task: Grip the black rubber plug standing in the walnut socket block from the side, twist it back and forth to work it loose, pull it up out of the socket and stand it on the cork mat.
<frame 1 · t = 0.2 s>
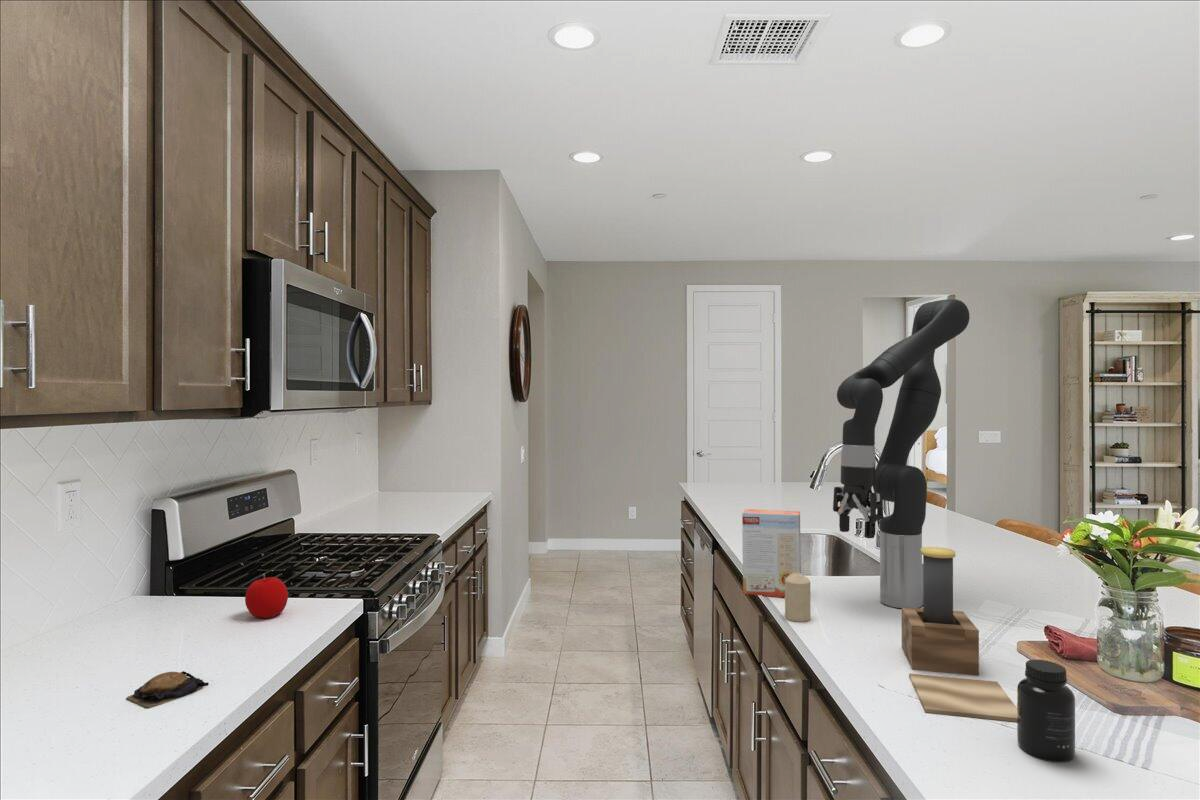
hand: (856, 534, 157), 18 cm above the countertop, tool pointing down, fingers open, 8 cm apart
cracker box: (772, 594, 171), on the countertop
cork mat: (962, 698, 112), on the countertop
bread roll: (169, 696, 116), on the countertop
socket block: (938, 660, 128), on the countertop
candle: (797, 619, 152), on the countertop
fruit: (267, 616, 156), on the countertop
supplement bottle: (1045, 751, 95), on the countertop
plug: (938, 628, 128), point 6 cm above the countertop, touching socket block
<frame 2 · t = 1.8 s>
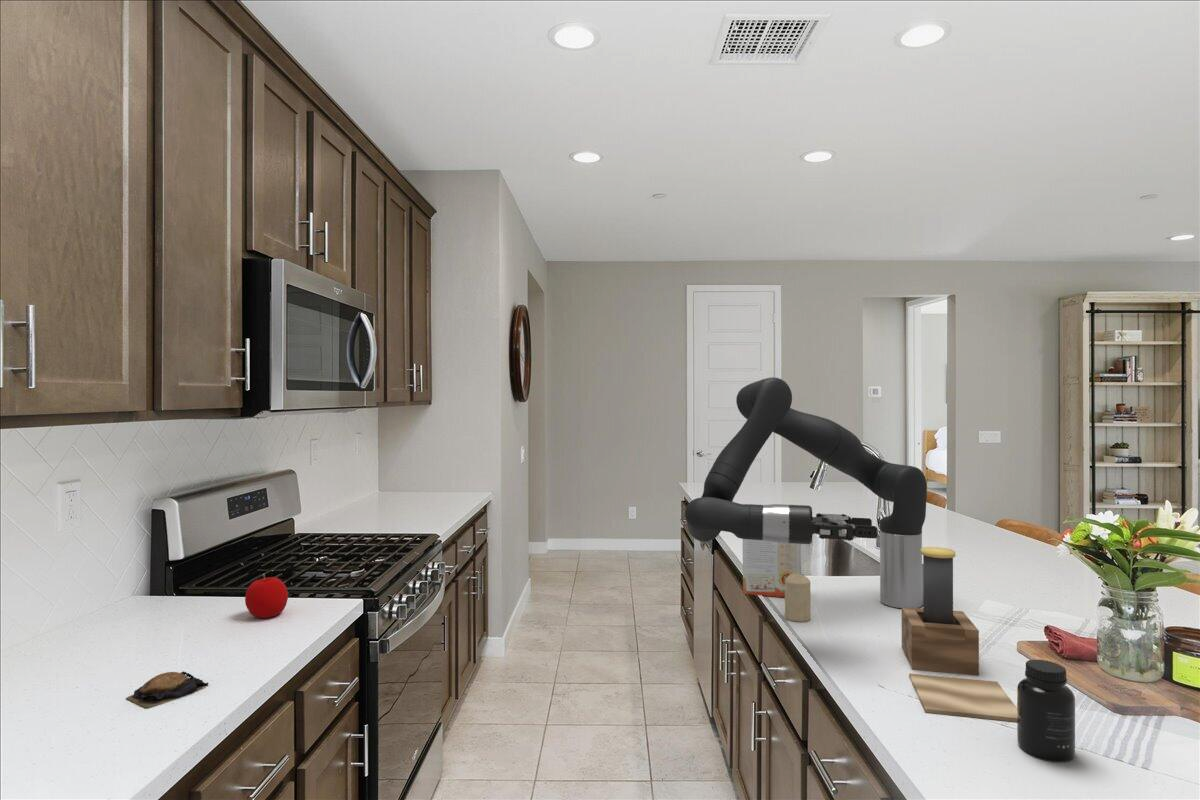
hand: (874, 528, 130), 24 cm above the countertop, tool horizontal, fingers open, 8 cm apart
nothing on the countertop moved.
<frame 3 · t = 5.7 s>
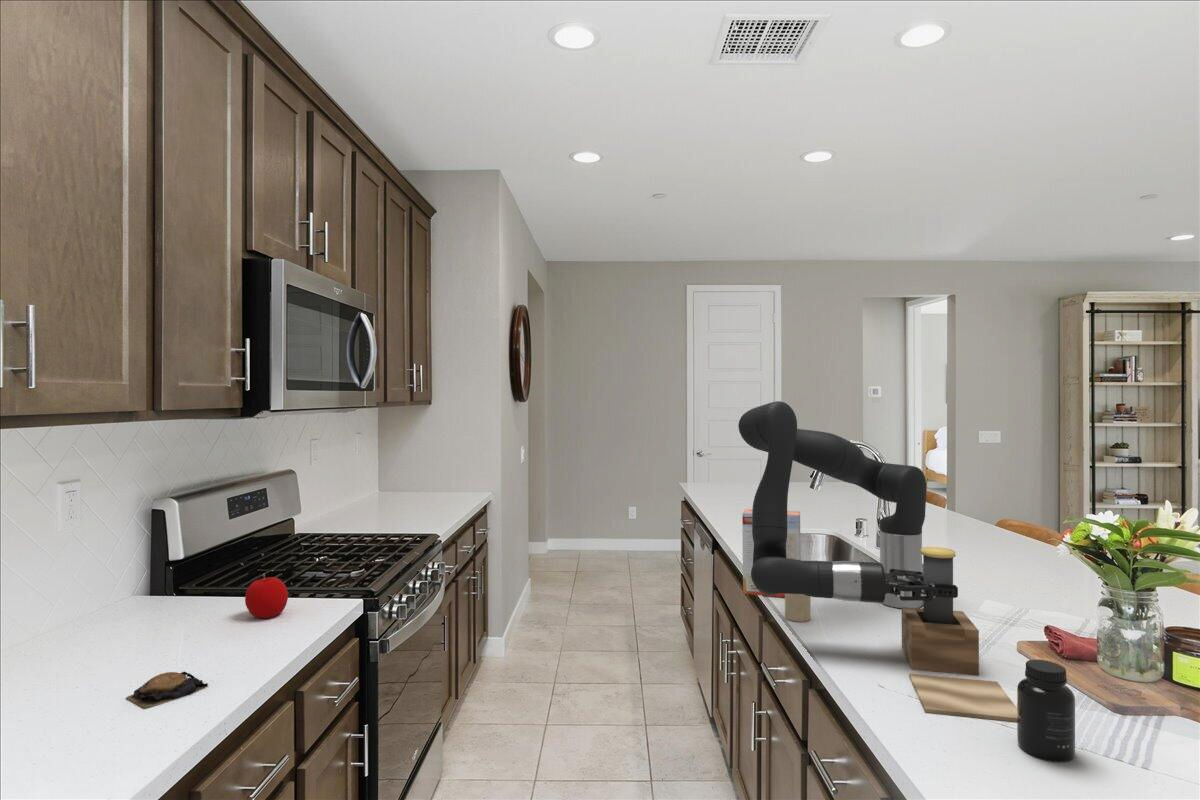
hand: (953, 587, 127), 14 cm above the countertop, tool horizontal, fingers closed on plug, 5 cm apart
plug: (938, 628, 128), point 6 cm above the countertop, touching gripper, socket block
everything else where it was.
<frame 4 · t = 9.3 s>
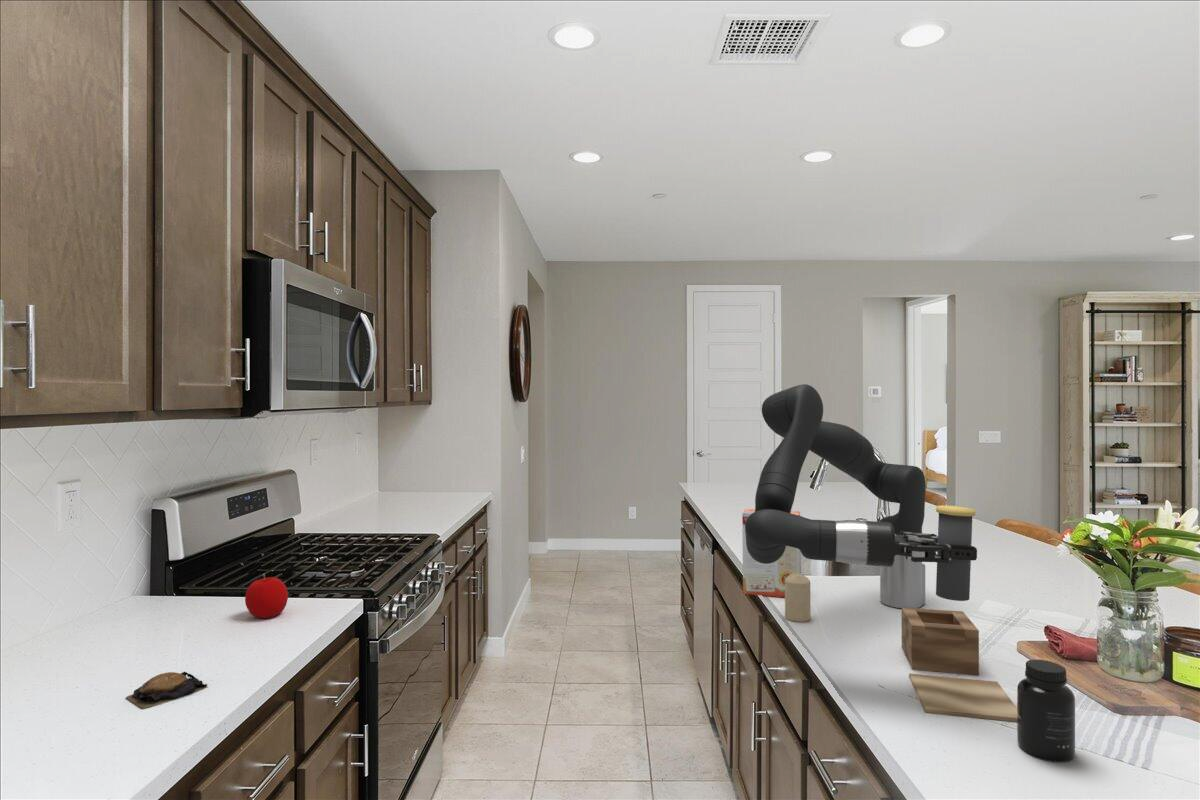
hand: (971, 549, 113), 24 cm above the countertop, tool horizontal, fingers closed on plug, 5 cm apart
plug: (952, 596, 114), point 16 cm above the countertop, touching gripper
everything else where it was.
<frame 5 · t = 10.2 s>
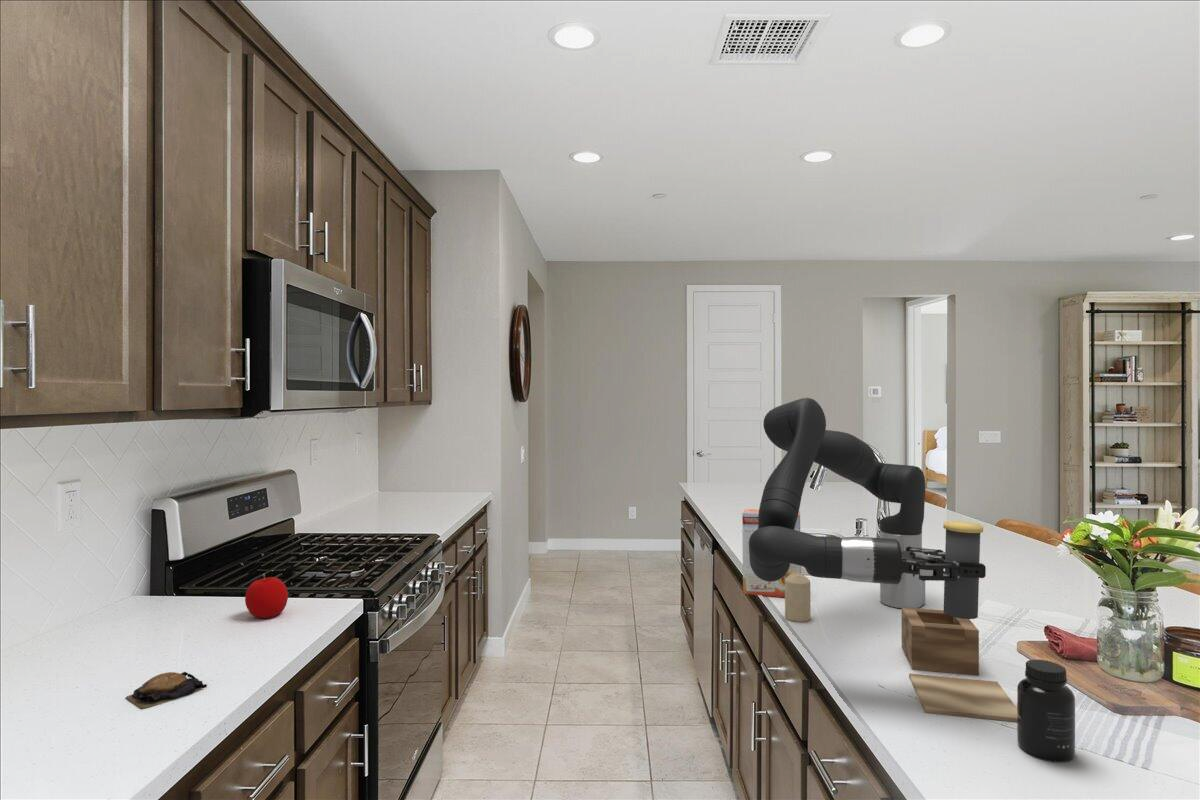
hand: (979, 566, 111), 22 cm above the countertop, tool horizontal, fingers closed on plug, 5 cm apart
plug: (960, 614, 112), point 14 cm above the countertop, touching gripper
everything else where it was.
when the fingers open (10 cm above the countertop, at t = 12.7 s): plug drops 1 cm, resting on cork mat.
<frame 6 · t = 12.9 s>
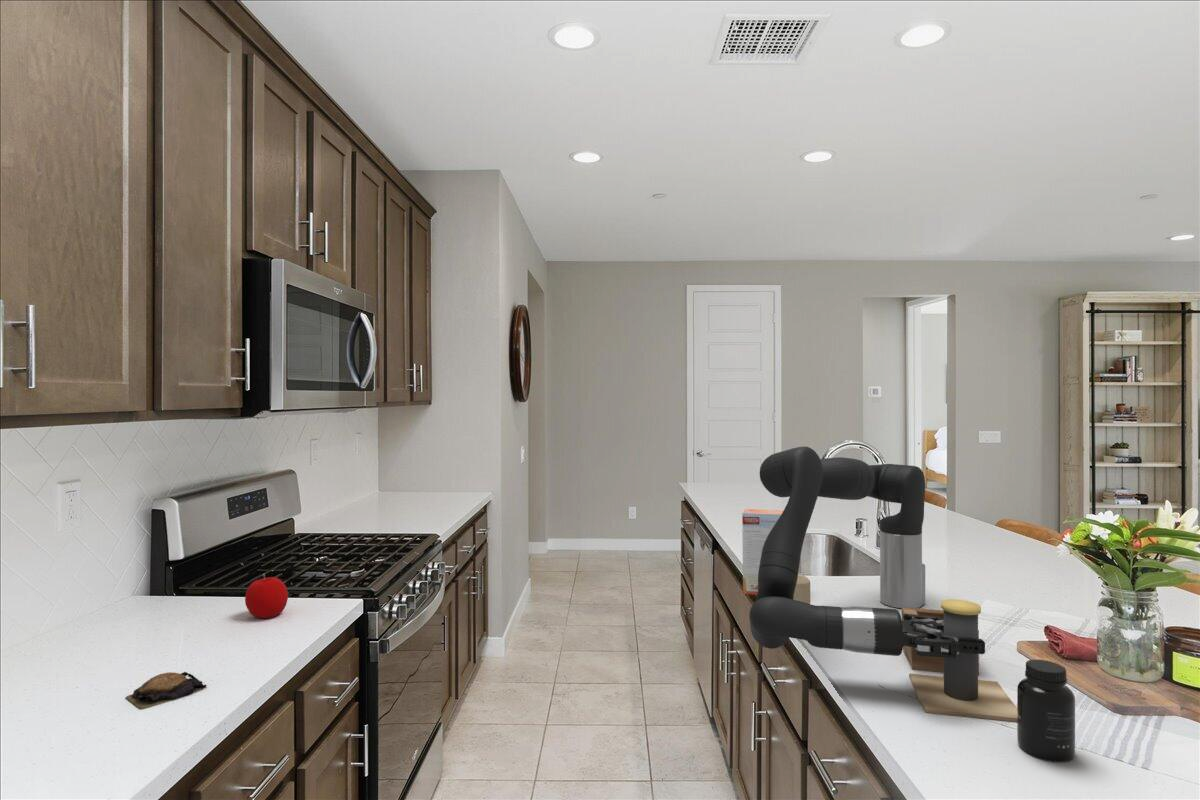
hand: (977, 638, 111), 10 cm above the countertop, tool horizontal, fingers open, 6 cm apart
plug: (960, 694, 112), point 1 cm above the countertop, touching cork mat
everything else where it was.
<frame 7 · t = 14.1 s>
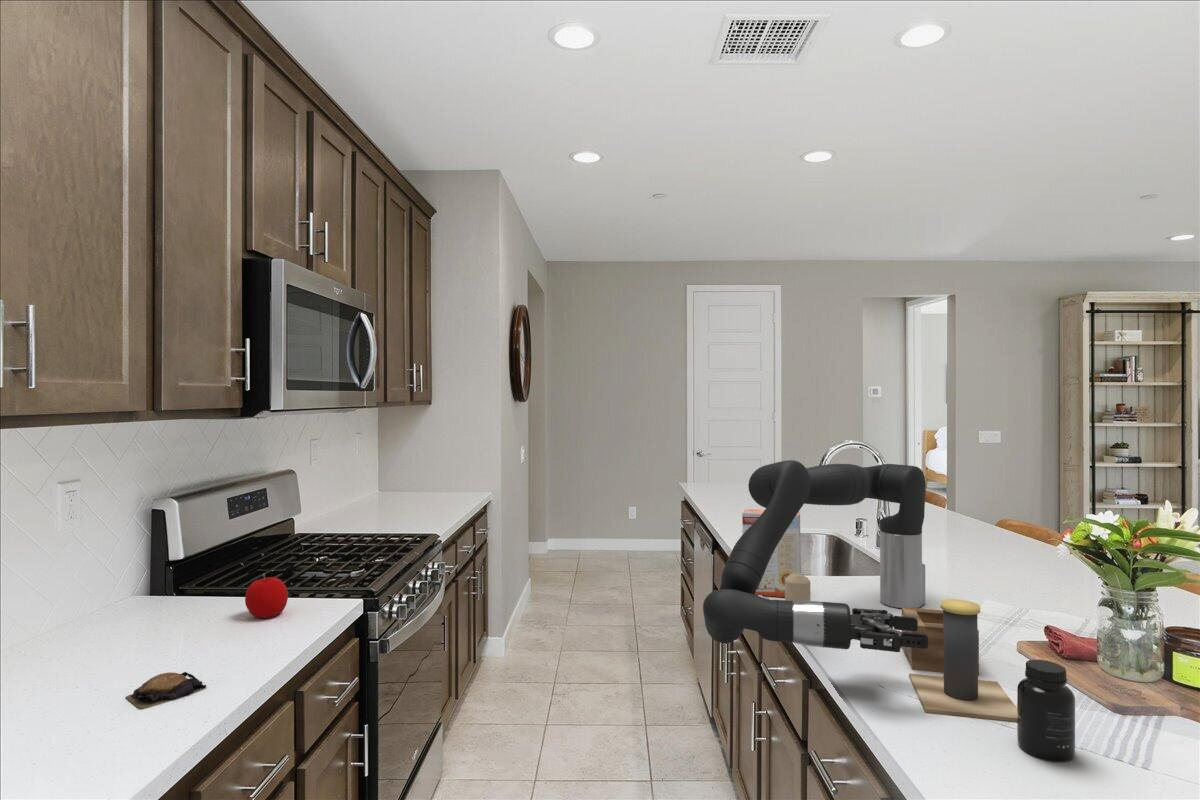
hand: (922, 632, 113), 10 cm above the countertop, tool horizontal, fingers open, 8 cm apart
nothing on the countertop moved.
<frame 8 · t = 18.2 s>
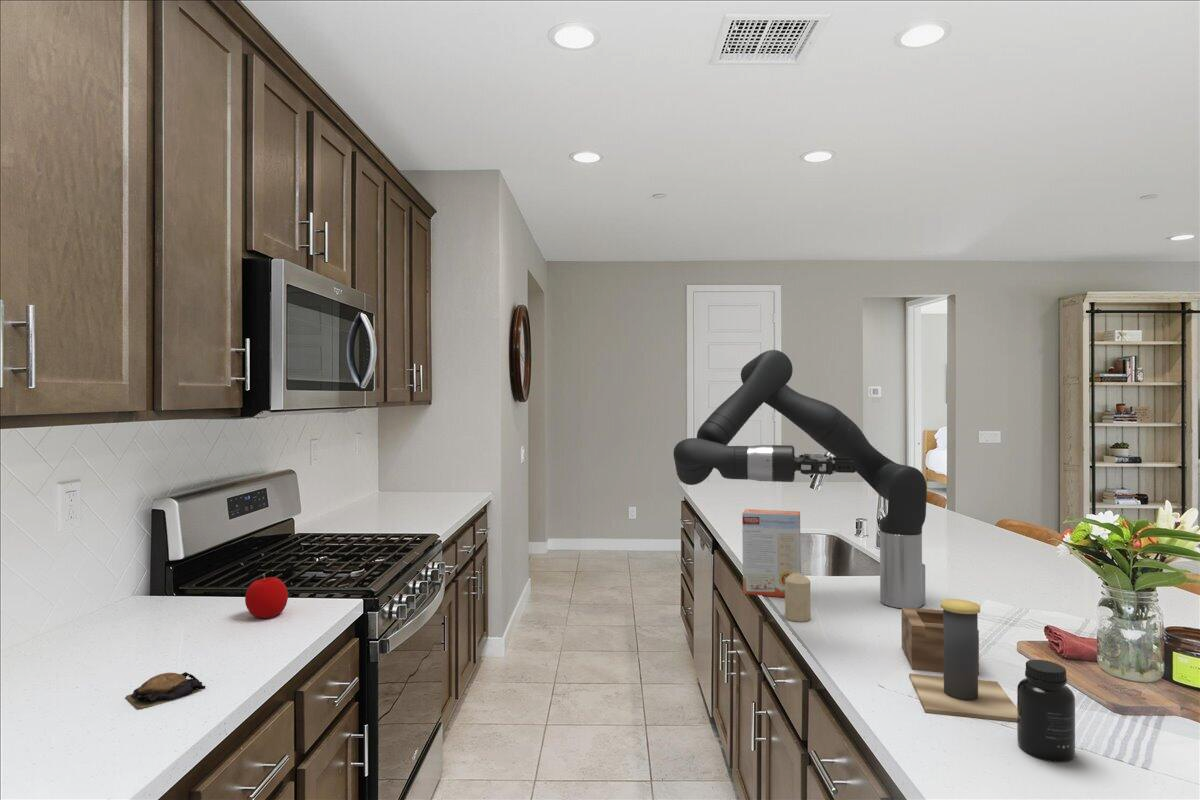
hand: (853, 464, 137), 36 cm above the countertop, tool horizontal, fingers open, 8 cm apart
nothing on the countertop moved.
at the end: plug inside the target area on the cork mat (0.3 cm from its centre), point 0.6 cm above the cork mat's base; plug tilted 1°; the gripper is holding nothing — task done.
